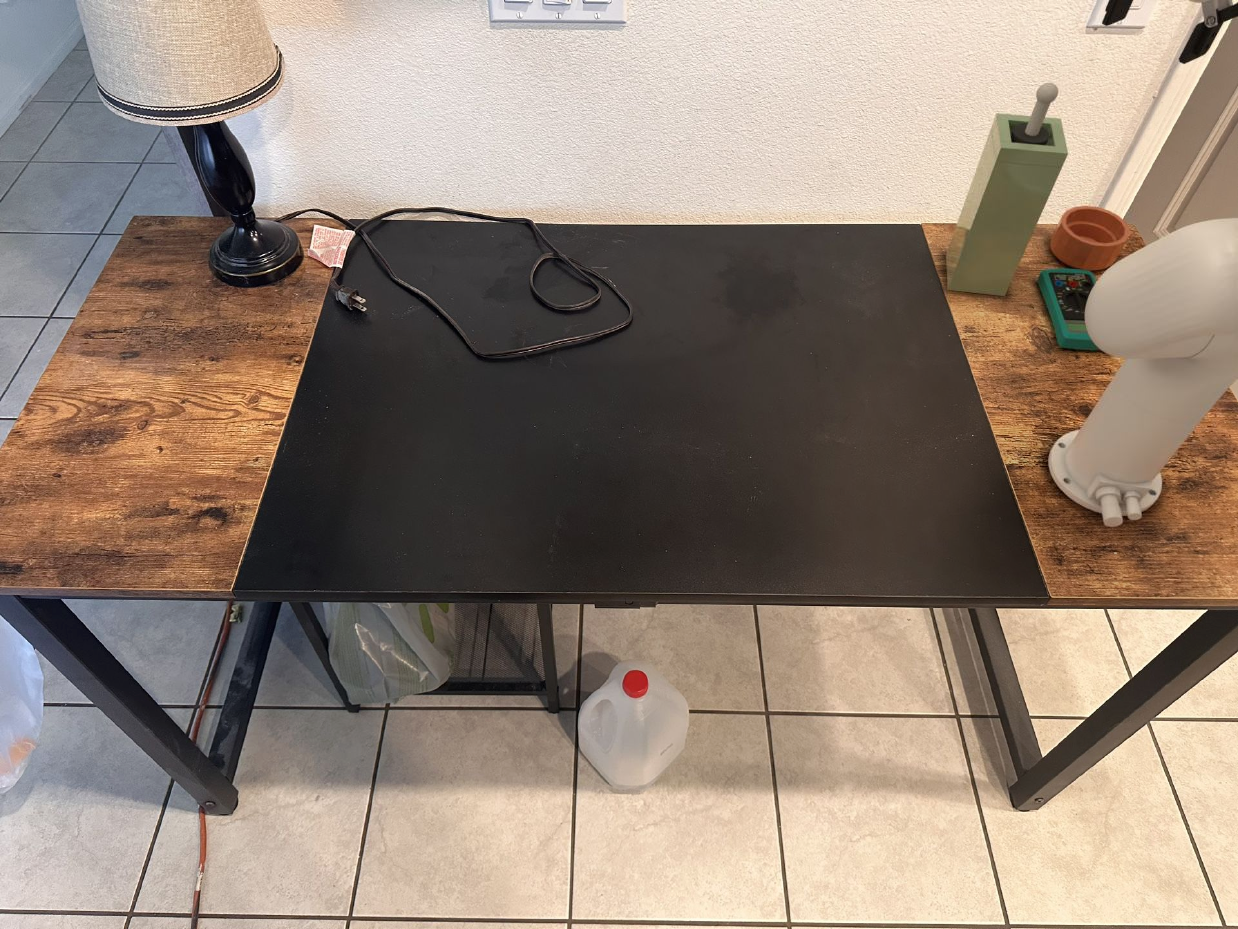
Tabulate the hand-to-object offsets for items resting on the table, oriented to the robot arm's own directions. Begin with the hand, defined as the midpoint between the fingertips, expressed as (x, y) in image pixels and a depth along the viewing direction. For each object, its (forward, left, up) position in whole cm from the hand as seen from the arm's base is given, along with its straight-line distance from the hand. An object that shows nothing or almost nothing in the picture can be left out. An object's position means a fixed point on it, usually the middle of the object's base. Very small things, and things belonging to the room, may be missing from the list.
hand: (1150, 40), depth 92 cm
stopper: (+5, +7, -17) cm, 19 cm away
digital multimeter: (-1, -6, -38) cm, 39 cm away
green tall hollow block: (+5, +7, -38) cm, 39 cm away
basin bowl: (+13, -9, -38) cm, 41 cm away
